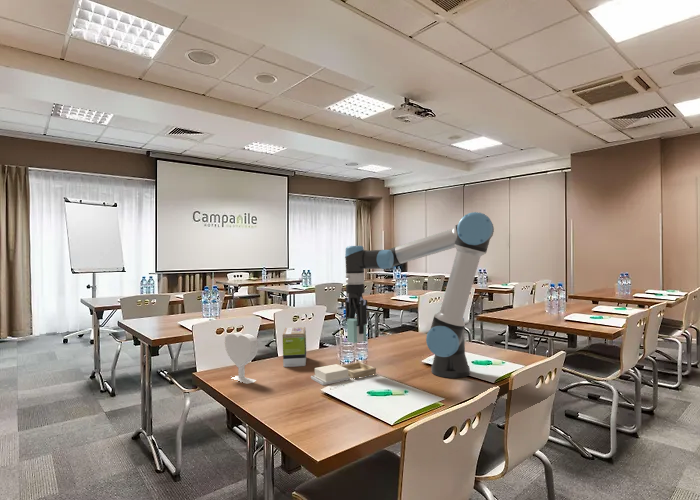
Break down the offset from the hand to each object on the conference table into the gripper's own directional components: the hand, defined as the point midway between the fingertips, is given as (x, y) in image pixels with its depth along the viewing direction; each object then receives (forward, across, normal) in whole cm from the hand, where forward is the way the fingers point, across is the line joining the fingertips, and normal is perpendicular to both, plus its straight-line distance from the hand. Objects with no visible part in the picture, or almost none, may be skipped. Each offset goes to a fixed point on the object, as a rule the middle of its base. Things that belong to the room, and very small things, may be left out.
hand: (356, 340), depth 164 cm
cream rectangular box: (+13, 0, -12) cm, 18 cm away
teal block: (0, 0, 0) cm, 0 cm away
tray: (+14, 0, 0) cm, 14 cm away
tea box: (+14, -31, -13) cm, 37 cm away
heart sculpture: (+14, -20, -41) cm, 48 cm away
